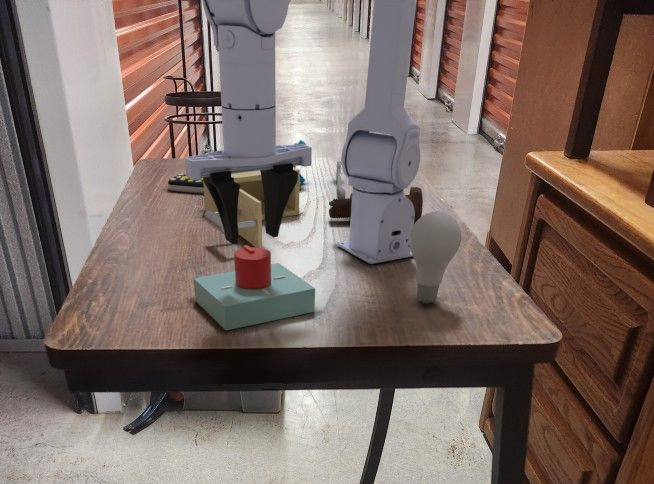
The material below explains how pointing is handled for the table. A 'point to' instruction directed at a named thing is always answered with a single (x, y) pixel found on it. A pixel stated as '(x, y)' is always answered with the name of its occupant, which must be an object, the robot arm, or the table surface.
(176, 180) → the remote control
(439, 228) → the lightbulb
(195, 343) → the table surface
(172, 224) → the table surface
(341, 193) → the combination wrench
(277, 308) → the panel
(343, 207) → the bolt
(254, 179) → the cabinet
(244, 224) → the cabinet door
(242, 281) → the cylinder
